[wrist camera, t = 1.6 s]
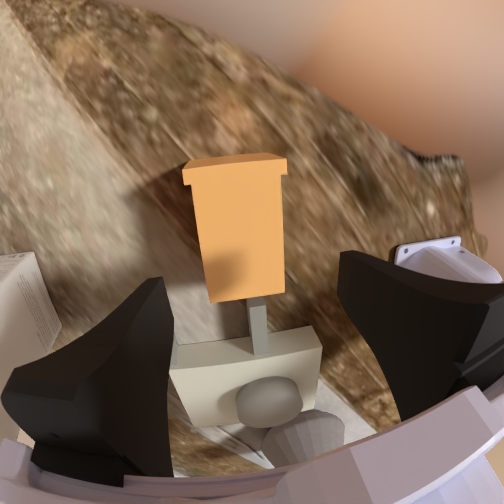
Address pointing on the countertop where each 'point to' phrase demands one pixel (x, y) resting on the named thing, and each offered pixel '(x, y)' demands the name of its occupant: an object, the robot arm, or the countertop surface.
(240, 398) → the grey stand
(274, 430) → the grey faceted tapered shape
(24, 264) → the skincare box
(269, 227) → the orange lidded tapered block
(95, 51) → the countertop surface
